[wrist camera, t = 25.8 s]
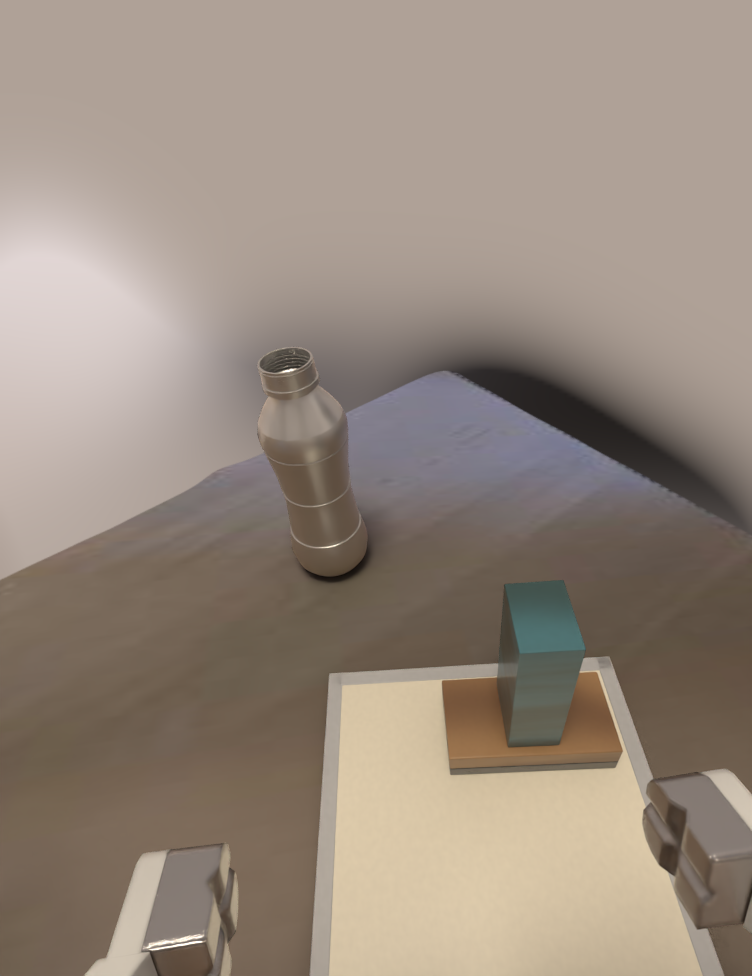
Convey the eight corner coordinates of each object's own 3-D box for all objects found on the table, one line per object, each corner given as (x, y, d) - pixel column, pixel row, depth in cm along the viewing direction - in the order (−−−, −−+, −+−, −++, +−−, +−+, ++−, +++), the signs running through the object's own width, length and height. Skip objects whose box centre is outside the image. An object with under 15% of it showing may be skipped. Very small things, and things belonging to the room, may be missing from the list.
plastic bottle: (308, 529, 52) (253, 337, 38) (377, 533, 50) (345, 335, 37) (288, 583, 47) (217, 386, 34) (363, 589, 45) (321, 386, 32)
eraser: (615, 768, 32) (670, 654, 24) (450, 775, 33) (444, 668, 25) (591, 689, 36) (630, 567, 27) (442, 697, 37) (435, 580, 28)
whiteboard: (795, 1191, 21) (803, 1194, 21) (299, 1186, 23) (295, 1189, 22) (607, 662, 38) (609, 656, 38) (331, 678, 40) (329, 673, 39)
